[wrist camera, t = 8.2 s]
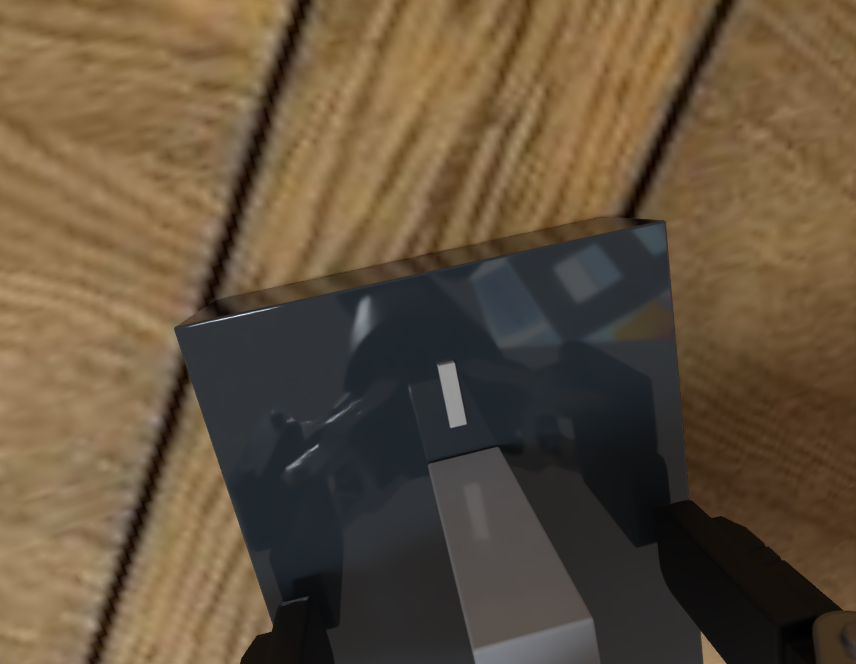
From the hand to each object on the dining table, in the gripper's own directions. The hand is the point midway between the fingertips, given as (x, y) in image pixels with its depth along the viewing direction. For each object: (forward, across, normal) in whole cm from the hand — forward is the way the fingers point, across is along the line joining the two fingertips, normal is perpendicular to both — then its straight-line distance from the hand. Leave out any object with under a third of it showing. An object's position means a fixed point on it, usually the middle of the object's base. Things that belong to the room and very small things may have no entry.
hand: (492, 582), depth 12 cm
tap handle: (0, 0, 0) cm, 0 cm away
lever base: (+3, 0, 0) cm, 3 cm away
